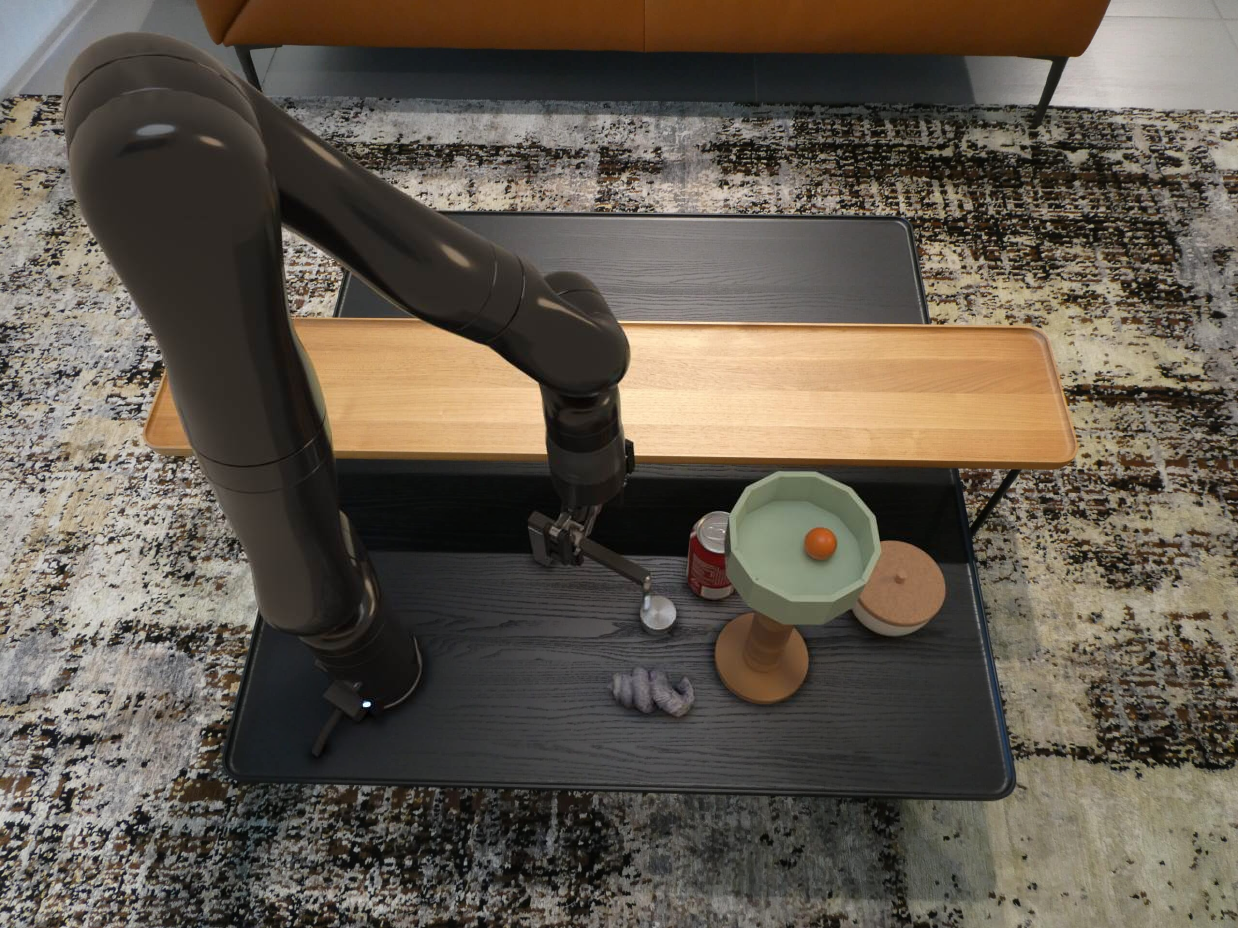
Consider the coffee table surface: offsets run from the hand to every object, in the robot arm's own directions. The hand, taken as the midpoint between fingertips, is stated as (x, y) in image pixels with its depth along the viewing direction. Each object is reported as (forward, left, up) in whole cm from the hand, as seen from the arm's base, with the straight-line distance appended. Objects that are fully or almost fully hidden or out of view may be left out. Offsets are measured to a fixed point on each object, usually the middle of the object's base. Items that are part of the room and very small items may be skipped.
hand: (594, 531), depth 95 cm
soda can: (+8, -12, -14) cm, 20 cm away
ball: (+3, -23, +14) cm, 27 cm away
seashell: (-9, -13, -14) cm, 21 cm away
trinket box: (+15, -32, -14) cm, 38 cm away
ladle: (0, -1, -14) cm, 14 cm away
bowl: (+2, -22, +12) cm, 25 cm away
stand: (+2, -22, -14) cm, 26 cm away
